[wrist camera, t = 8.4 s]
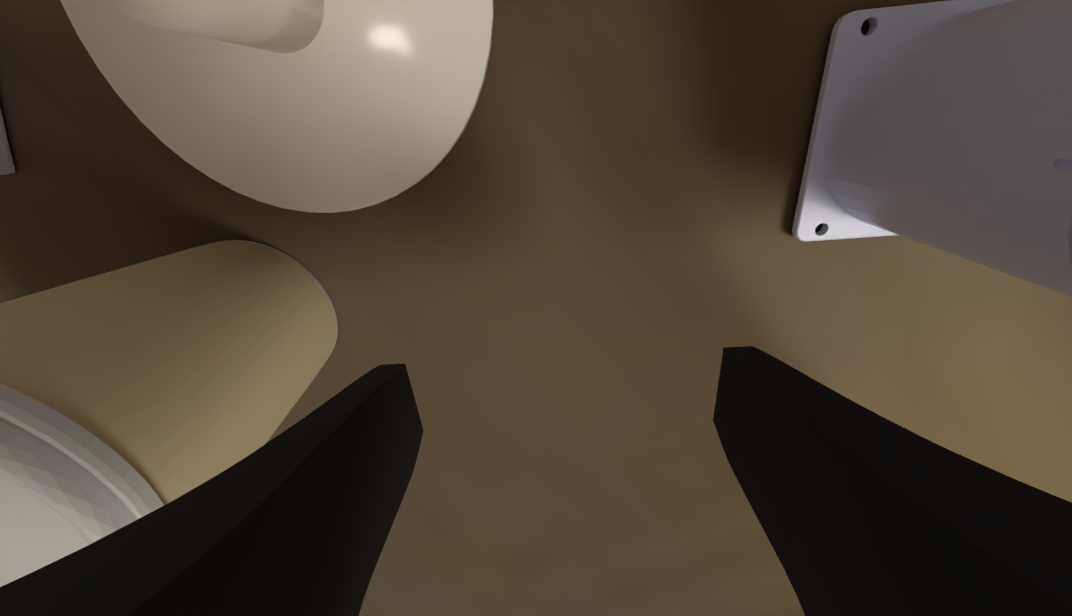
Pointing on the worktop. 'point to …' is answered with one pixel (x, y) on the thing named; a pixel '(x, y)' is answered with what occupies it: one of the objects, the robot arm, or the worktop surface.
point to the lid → (297, 88)
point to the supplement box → (5, 151)
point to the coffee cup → (146, 388)
